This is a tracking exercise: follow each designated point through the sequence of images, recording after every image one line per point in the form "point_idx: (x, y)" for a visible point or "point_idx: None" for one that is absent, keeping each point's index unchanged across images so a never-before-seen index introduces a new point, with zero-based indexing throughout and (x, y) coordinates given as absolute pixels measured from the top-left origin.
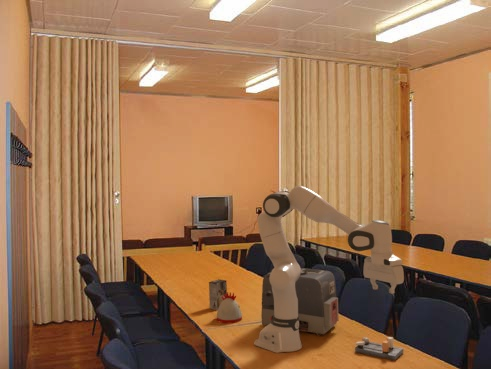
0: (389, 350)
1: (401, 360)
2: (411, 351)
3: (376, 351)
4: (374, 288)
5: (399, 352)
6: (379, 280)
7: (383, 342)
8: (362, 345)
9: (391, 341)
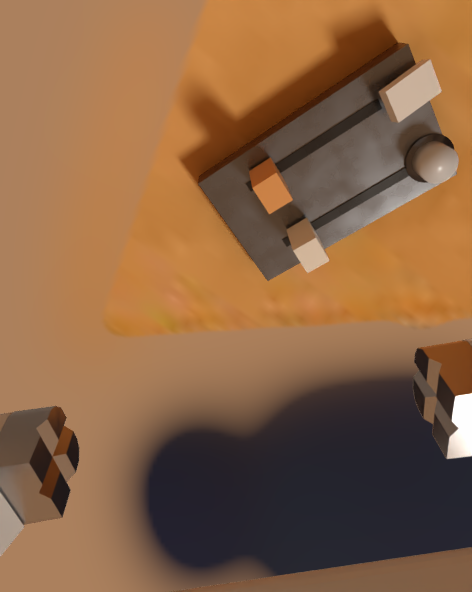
0: None
1: (191, 207)
2: (263, 307)
3: (294, 132)
4: (442, 352)
5: (237, 237)
6: (284, 575)
7: (269, 177)
8: None
9: (291, 244)
